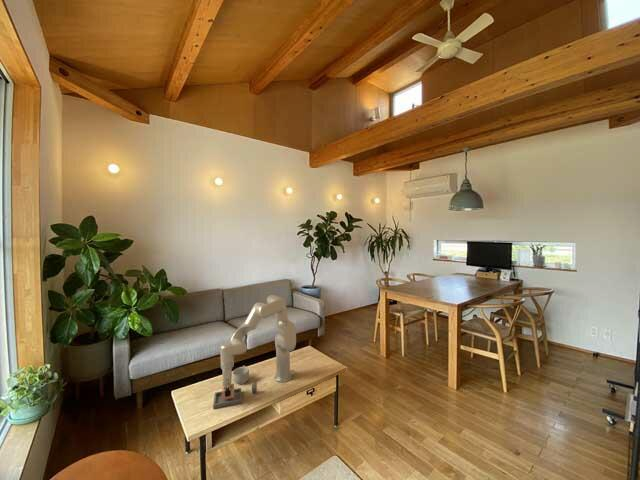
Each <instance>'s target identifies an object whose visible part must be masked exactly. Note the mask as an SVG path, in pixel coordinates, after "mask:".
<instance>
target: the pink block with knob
mask: <svg viewBox="0 0 640 480" xmlns="http://www.w3.org/2000/svg"><path fill="white" fill-rule="evenodd" d="M230 389H231V396H228V397H225V386H223V385H222V386H221V391H222V400H224V399H229V398H234V389H235V384H234V383H231V385H230Z"/></svg>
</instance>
